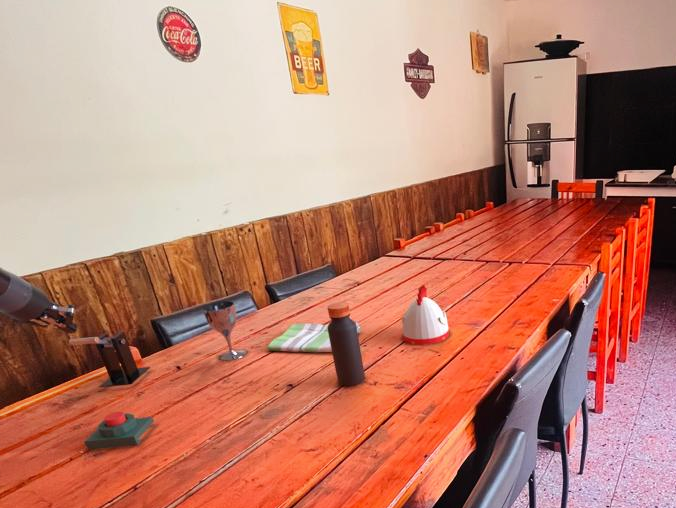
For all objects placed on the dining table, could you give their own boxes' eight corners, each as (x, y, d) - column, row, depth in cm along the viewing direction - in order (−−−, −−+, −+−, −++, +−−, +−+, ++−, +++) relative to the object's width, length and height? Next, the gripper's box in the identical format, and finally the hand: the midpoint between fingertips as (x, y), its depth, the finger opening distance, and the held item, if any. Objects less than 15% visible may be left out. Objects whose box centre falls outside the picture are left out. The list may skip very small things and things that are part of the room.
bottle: (351, 372, 133) (337, 299, 124) (371, 377, 130) (358, 302, 121) (332, 383, 128) (316, 308, 119) (352, 389, 125) (338, 312, 116)
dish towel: (340, 354, 144) (338, 342, 143) (266, 352, 148) (263, 341, 147) (363, 331, 159) (361, 320, 158) (295, 330, 163) (292, 319, 162)
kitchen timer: (453, 327, 158) (449, 280, 152) (442, 345, 146) (438, 294, 140) (410, 326, 161) (404, 280, 154) (396, 344, 149) (389, 294, 142)
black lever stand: (133, 387, 132) (114, 342, 126) (100, 390, 131) (80, 345, 126) (151, 370, 141) (135, 327, 135) (121, 373, 140) (103, 330, 135)
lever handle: (96, 344, 121) (94, 334, 121) (69, 347, 120) (68, 336, 120) (127, 346, 133) (126, 337, 133) (103, 348, 132) (102, 339, 132)
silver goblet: (252, 353, 148) (238, 304, 141) (224, 363, 143) (209, 312, 136) (240, 347, 153) (226, 299, 146) (213, 356, 148) (198, 307, 141)
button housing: (87, 450, 106) (80, 434, 105) (108, 429, 113) (102, 414, 112) (137, 445, 107) (131, 429, 105) (155, 425, 114) (149, 409, 112)
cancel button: (103, 428, 107) (100, 421, 106) (112, 419, 110) (109, 412, 109) (121, 426, 107) (118, 419, 106) (129, 417, 110) (127, 410, 110)
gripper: (48, 275, 103) (105, 312, 120) (-21, 280, 102) (46, 317, 119) (42, 309, 101) (101, 341, 117) (-29, 314, 100) (40, 347, 116)
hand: (73, 329), depth 118 cm, fingers closed
